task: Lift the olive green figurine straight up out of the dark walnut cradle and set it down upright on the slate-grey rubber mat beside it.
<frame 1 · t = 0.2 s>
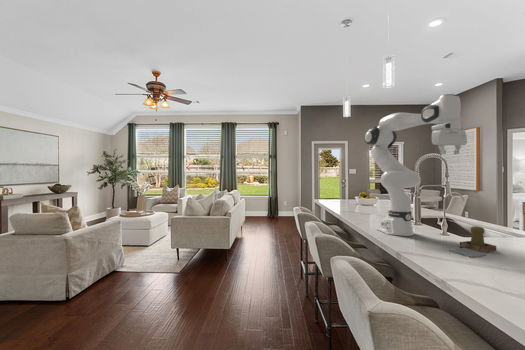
hand: (449, 154, 128), 47 cm above the table, tool pointing down, fingers open, 8 cm apart
rubber mat: (467, 253, 120), on the table
walnut cradle: (477, 248, 126), on the table
olive green figurine: (477, 249, 126), resting in walnut cradle
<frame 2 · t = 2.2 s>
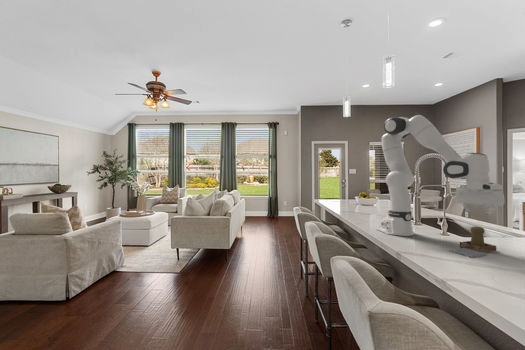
hand: (478, 213, 126), 18 cm above the table, tool pointing down, fingers open, 8 cm apart
nothing on the table moved.
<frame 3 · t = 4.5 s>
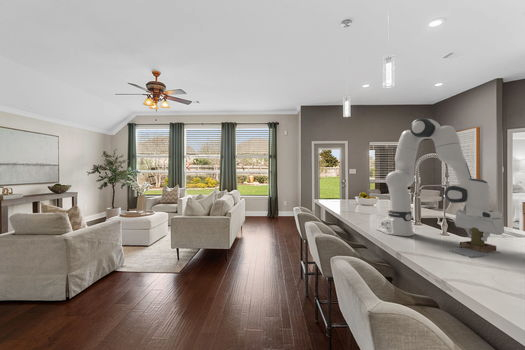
hand: (477, 239, 126), 5 cm above the table, tool pointing down, fingers closed on olive green figurine, 4 cm apart
olive green figurine: (477, 249, 126), resting in walnut cradle, touching gripper
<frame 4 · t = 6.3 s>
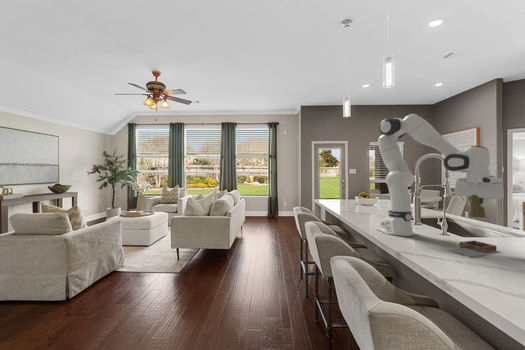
hand: (477, 206, 126), 21 cm above the table, tool pointing down, fingers closed on olive green figurine, 4 cm apart
olive green figurine: (477, 216, 126), point 16 cm above the table, touching gripper
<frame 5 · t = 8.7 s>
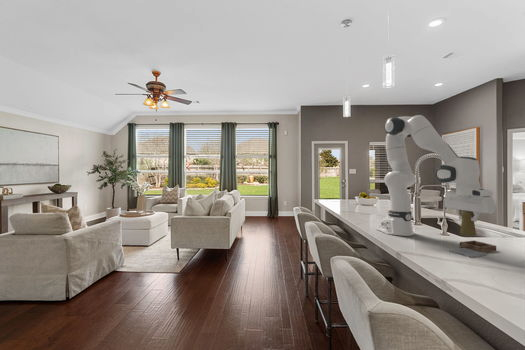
hand: (467, 220, 120), 15 cm above the table, tool pointing down, fingers closed on olive green figurine, 4 cm apart
olive green figurine: (467, 234, 120), point 9 cm above the table, touching gripper
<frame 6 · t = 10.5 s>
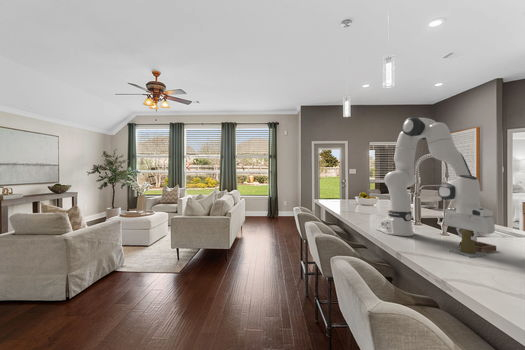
hand: (467, 239, 120), 7 cm above the table, tool pointing down, fingers closed on olive green figurine, 4 cm apart
olive green figurine: (467, 252, 120), resting on rubber mat, touching gripper
when the fingers open (7 cm above the table, at t = 11.0 s): olive green figurine stays where it is, resting on rubber mat.
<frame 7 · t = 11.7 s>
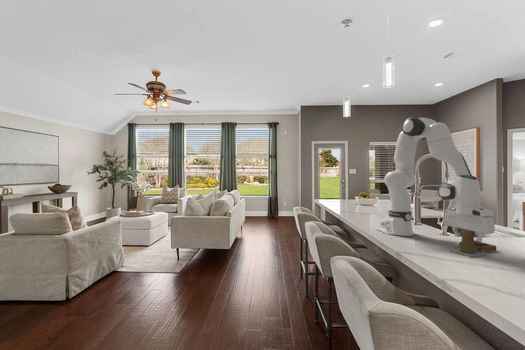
hand: (467, 239, 120), 7 cm above the table, tool pointing down, fingers open, 8 cm apart
olive green figurine: (467, 252, 120), resting on rubber mat
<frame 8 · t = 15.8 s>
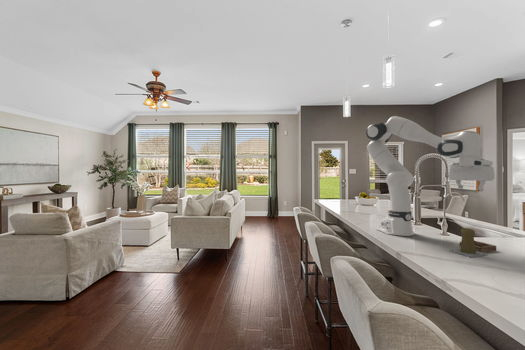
hand: (469, 189, 132), 29 cm above the table, tool pointing down, fingers open, 8 cm apart
nothing on the table moved.
at the end: olive green figurine inside the target area on the rubber mat (0.2 cm from its centre), point 0.4 cm above the rubber mat's base; olive green figurine tilted 0°; the gripper is holding nothing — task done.
